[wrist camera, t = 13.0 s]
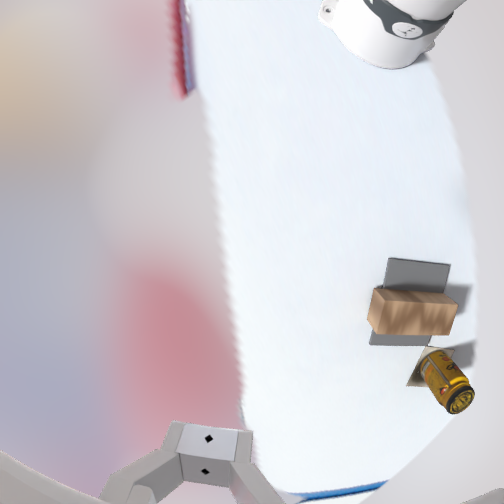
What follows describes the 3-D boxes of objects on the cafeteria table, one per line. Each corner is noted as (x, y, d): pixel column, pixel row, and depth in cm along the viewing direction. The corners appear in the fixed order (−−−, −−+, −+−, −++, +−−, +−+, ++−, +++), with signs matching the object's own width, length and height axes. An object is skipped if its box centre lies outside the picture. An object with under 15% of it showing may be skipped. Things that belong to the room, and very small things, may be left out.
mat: (388, 258, 42) (389, 259, 42) (447, 264, 42) (449, 265, 41) (368, 343, 45) (369, 345, 45) (425, 344, 45) (427, 345, 44)
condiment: (454, 349, 45) (486, 385, 33) (434, 387, 47) (460, 426, 35) (424, 345, 45) (455, 384, 33) (405, 385, 47) (428, 427, 35)
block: (384, 300, 38) (459, 304, 37) (373, 287, 43) (444, 293, 42) (376, 334, 39) (450, 335, 38) (366, 319, 44) (436, 321, 43)
